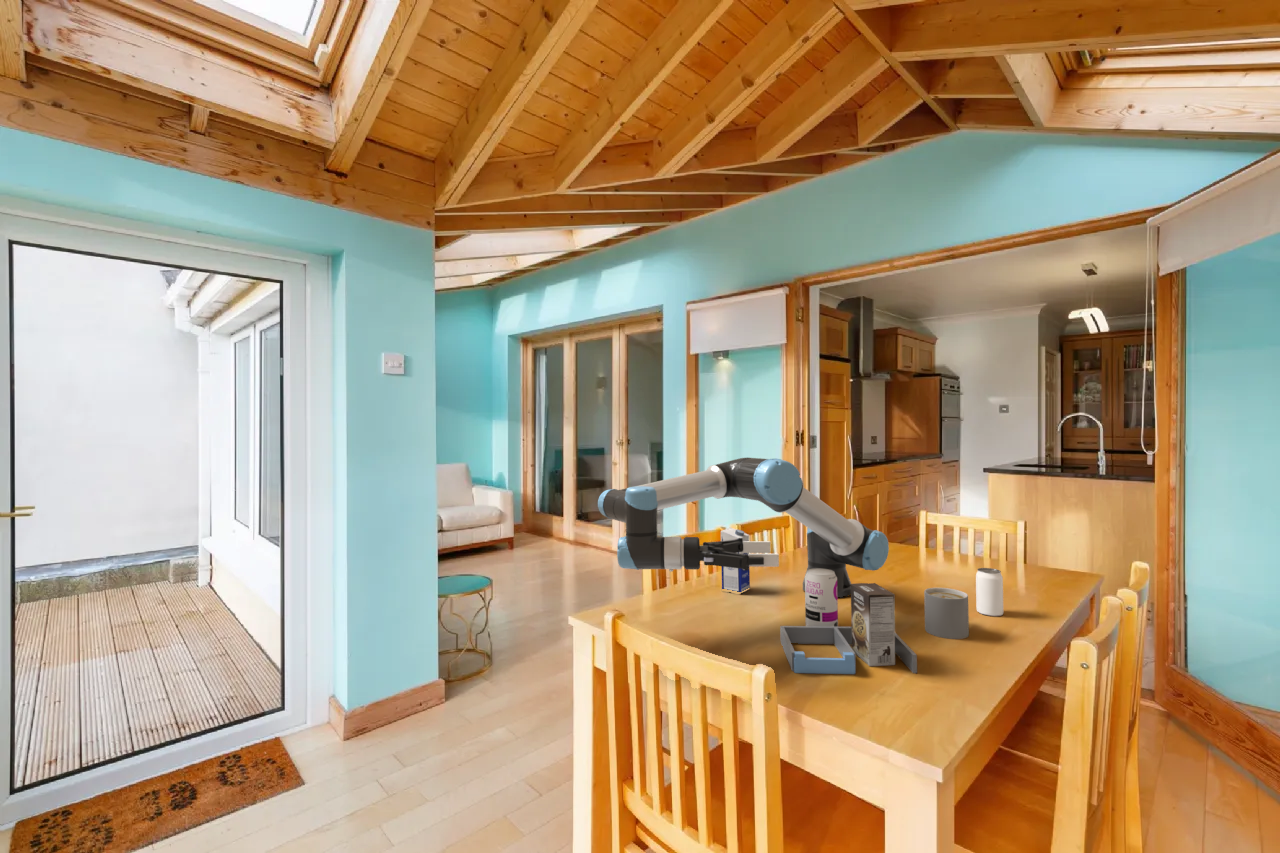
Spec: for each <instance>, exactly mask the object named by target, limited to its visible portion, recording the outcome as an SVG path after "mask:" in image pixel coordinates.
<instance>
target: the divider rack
mask: <svg viewBox="0 0 1280 853" xmlns="http://www.w3.org/2000/svg"><path fill="white" fill-rule="evenodd" d="M779 628H780V629H779V630H780V631H779V633H780V634H779V635H780V639H779V640H780V644H781V646H783V647H782V650H783V652H784V654H785V656H786V657H785V658H786V659H787V661H788V664H789V667H790V669H791V671H792V672H794V673H795V674H828V675H831V674H832V675H833V674H834V675H856V673H857V665H856V664H857V663H856V657H857V655H856V654H855V652H854V651H853V650H852V646H851V645H852V626H838V627H836V626H806V625H780V626H779ZM791 643H798V644H799V645H801V644H802V645H803V644H804V645H834V646H835V648H836V650H838V653H839V654H840V656H841V657H806V654H805V652H804V651H801V650H800V651H799V650H798V651H796V650H795V649H794V646H793V644H791ZM895 655H896V656H898V658H899V659H900V660H901V661H902V662H903V663H904V665H905V666H906V667H907V668H908V670H910V672H911V673H912V674H918V655H917V653H916V652H915V651H914V650H913V649H912V648H910V647H909V645H908V644H907V643H906V642H905V641H904V640H903V639H902V638H901V637H900V636H899V635H898V634H897V633H896V632H895Z"/></svg>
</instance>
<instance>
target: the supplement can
mask: <svg viewBox="0 0 1280 853" xmlns="http://www.w3.org/2000/svg"><path fill="white" fill-rule="evenodd" d="M806 571H807V573H806V572H805V574H806V575H805V574H804V577H805V592H804V602H805V604H804V608H805V609H804V610H805V626H836V627H839V606H838V604H839V603H838V602H839V601H838V600H839V598H838V596H837V577H836V575H835V572H834V571H832V570H828V569H820V568H816V569H809V570H807V569H806Z"/></svg>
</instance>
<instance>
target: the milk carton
mask: <svg viewBox="0 0 1280 853" xmlns="http://www.w3.org/2000/svg"><path fill="white" fill-rule="evenodd" d="M738 538H743V541H750V535H749V534H747V533H746V532H745V531H743V530H741V529H736V528H733V527H728V528H726V529H723V530H720V541H728V540H736V539H738ZM737 553H739V554H744V555H749V554H750V553H743V551H742V552H737ZM720 567H721V590H722V589H727V590H732V591H737V592H742V591H744V590H746V589H748V588H750V589H751V584H750V581H751V580H750V579H751V576H750V573H751V572H750V569H749V570H745V569H739V568H731V567H723V566H720Z"/></svg>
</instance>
